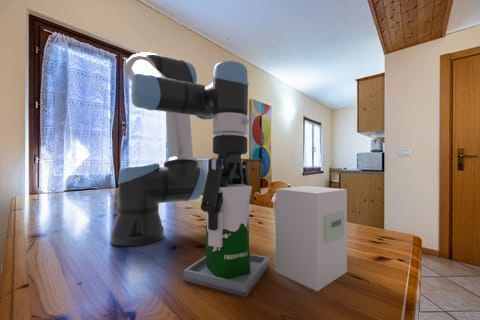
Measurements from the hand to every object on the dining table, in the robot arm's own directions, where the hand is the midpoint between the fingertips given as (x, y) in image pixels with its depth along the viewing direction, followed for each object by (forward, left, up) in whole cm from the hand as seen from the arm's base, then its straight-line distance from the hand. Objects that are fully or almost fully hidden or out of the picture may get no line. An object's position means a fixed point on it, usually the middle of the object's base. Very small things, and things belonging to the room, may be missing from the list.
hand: (229, 237), depth 49 cm
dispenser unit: (+16, +8, -8) cm, 19 cm away
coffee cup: (+8, +21, -8) cm, 24 cm away
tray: (0, 0, -8) cm, 8 cm away
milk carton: (0, -1, -7) cm, 7 cm away
